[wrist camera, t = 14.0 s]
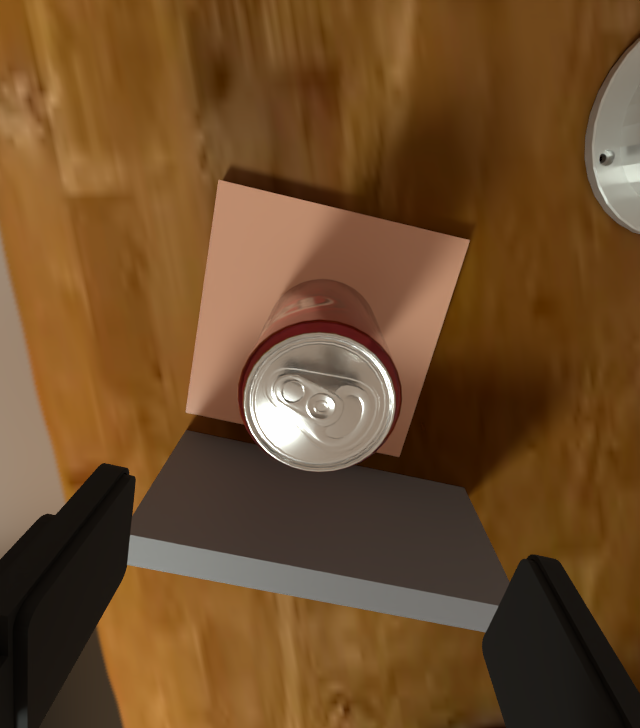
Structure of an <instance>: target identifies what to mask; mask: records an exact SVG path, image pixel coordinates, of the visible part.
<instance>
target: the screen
mask: <svg viewBox="0 0 640 728" xmlns="http://www.w3.org/2000/svg"><path fill="white" fill-rule="evenodd" d="M127 565H131V566H137V567H142V568H147V569H153V570H158V571H163V572H169V573H174V574H179V575H184V576H190V577H195V578H200V579H206V580H211V581H216V582H222V583H227V584H232V585H238V586H243V587H248V588H253V589H259V590H264V591H269V592H275V593H280V594H285V595H291V596H296V597H301V598H306V599H312V600H317V601H322V602H328V603H333V604H338V605H344V606H349V607H354V608H360V609H365V610H370V611H375V612H381V613H386V614H391V615H397V616H402V617H407V618H413V619H418V620H423V621H429V622H434V623H439V624H444V625H450V626H455V627H460V628H466V629H471V630H476V631H482V632H486V631H487V629H488V627H489V625H490V623H491V621H492V619H493V616H494V614H495V612H496V610H497V608H498V606H499V604H500V602H501V600H502V598H503V596H504V594H505V592H506V590H507V587H508V585H509V583H510V582H509V580H508V578H507V576H506V574H505V572H504V570H503V568H502V566H501V563H500V561H499V559H498V557H497V555H496V553H495V551H494V549H493V547H492V545H491V543H490V541H489V538H488V536H487V534H486V532H485V530H484V528H483V526H482V524H481V522H480V520H479V518H478V515H477V513H476V511H475V509H474V507H473V505H472V503H471V501H470V499H469V497H468V495H467V493H466V490H465V488H463V487H459V486H454V485H449V484H444V483H439V482H434V481H430V480H425V479H420V478H415V477H410V476H406V475H401V474H396V473H391V472H386V471H381V470H377V469H372V468H367V467H362V466H357V465H354V466H351V467H349V468H345V469H341V470H337V471H330V472H311V471H303V470H299V469H295V468H292V467H289V466H287V465H285V464H282V463H280V462H278V461H276V460H275V459H273V458H272V457H271V456H269V455H268V454H266V453H265V452H264V451H263V450H262V449H261V448H260V447H259V446H258V445H256V444H251V443H246V442H241V441H237V440H232V439H227V438H222V437H217V436H212V435H208V434H203V433H198V432H193V431H188V430H186V431H185V433H184V434H183V436H182V438H181V439H180V441H179V442H178V444H177V446H176V447H175V449H174V450H173V452H172V454H171V455H170V457H169V458H168V460H167V462H166V463H165V465H164V466H163V468H162V470H161V471H160V473H159V474H158V476H157V478H156V479H155V481H154V482H153V484H152V486H151V487H150V489H149V490H148V492H147V494H146V495H145V497H144V498H143V500H142V502H141V503H140V505H139V506H138V508H137V510H136V511H135V513H134V514H133V516H132V521H131V531H130V541H129V551H128V561H127Z"/></svg>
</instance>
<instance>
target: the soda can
mask: <svg viewBox="0 0 640 728" xmlns="http://www.w3.org/2000/svg"><path fill="white" fill-rule="evenodd" d="M237 400H238V406H239V412H240V416H241V418H242V421H243V423H244V426H245V428H246V430H247V431H248V433H249V435H250V436H251V438H252V439H253V441H254V442H255V443H256V444H257V445H258V446H259V447H260V448H261V449H262V450H263V451H264V452H265V453H266V454H268V455H269V456H271V457H272V458H273V459H275V460H276V461H278V462H280V463H282V464H285V465H287V466H289V467H292V468H295V469H299V470H303V471H311V472H330V471H337V470H341V469H345V468H349V467H351V466H354V465H356V464H358V463H360V462H362V461H364V460H365V459H367V458H368V457H370V456H371V455H373V454H374V453H375V452H376V451H377V450H378V449H379V448H380V447H381V446H382V445H383V444H384V443H385V442H386V441H387V439H388V438H389V436H390V434H391V433H392V431H393V430H394V428H395V425H396V423H397V420H398V418H399V416H400V410H401V404H402V386H401V382H400V378H399V375H398V371H397V368H396V366H395V364H394V361H393V359H392V356H391V354H390V351H389V349H388V347H387V344H386V342H385V339H384V337H383V335H382V332H381V330H380V327H379V325H378V322H377V320H376V318H375V315H374V313H373V311H372V309H371V307H370V305H369V303H368V302H367V301H366V300H365V298H364V297H363V296H362V295H361V294H360V293H359V292H357V291H356V290H355V289H354V288H352V287H350V286H348V285H346V284H344V283H341V282H338V281H335V280H328V279H316V280H309V281H306V282H303V283H300V284H298V285H296V286H294V287H292V288H290V289H289V290H288V291H287V292H286V293H284V294H283V295H282V296H281V297H280V299H279V300H278V301H277V302H276V304H275V306H274V307H273V309H272V311H271V313H270V315H269V317H268V319H267V321H266V323H265V325H264V327H263V329H262V331H261V333H260V335H259V337H258V339H257V341H256V343H255V345H254V347H253V349H252V351H251V353H250V355H249V357H248V359H247V361H246V363H245V365H244V367H243V369H242V372H241V376H240V379H239V383H238V398H237Z"/></svg>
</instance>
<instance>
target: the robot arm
mask: <svg viewBox="0 0 640 728" xmlns="http://www.w3.org/2000/svg"><path fill="white" fill-rule="evenodd" d="M600 155H601V156H602V161H601V163H600V161H599V159H600ZM585 163H586V169H587V175H588V180H589V182H590V185H591V188H592V190H593V193H594V195H595V197H596V199H597V200H598V202H599V203H600V205H601V206H602V208H603V209H604V211H605V212H606V213H607V214H608V215H609V216H610V217H611V218H612V219H614V220H615V221H616V222H617V223H618V224H620V225H621V226H623V227H625V228H627V229H628V230H630V231H632V232H634V233H638V234H640V37H639V38H638V39H637V40H636V41H635V42H634V43H633V44H632V45H631V46H630V47H629V48H628V49H627V50H626V51H625V52H624V53H623V55H622V56H621V57H620V59H619V60H618V61H617V62H616V64H615V65H614V66H613V67H612V69H611V70H610V72H609V74H608V75H607V77H606V79H605V81H604V83H603V84H602V86H601V88H600V90H599V91H598V94H597V97H596V99H595V102H594V105H593V107H592V110H591V113H590V116H589V121H588V126H587V131H586V136H585ZM135 481H136V479H135V477H134V476H131V475H129V470H128V468H125V467H120V466H115V465H111V464H106V463H103V464H101V465H100V466H99V467H98V468H97V469H96V470H95V471H94V472H93V474H92V475H91V476H90V477H89V478H88V479H87V480H86V481H85V483H84V484H83V485H82V486H81V487H80V488H79V489H78V490H77V492H76V493H75V494H74V495H73V496H72V497H71V498H70V499H69V501H68V502H67V503H66V504H65V505H64V506H63V507H62V508H61V510H60V511H59V512H58V513H57V514H56V515H51V514H45V515H43V516H41V517H40V518H39V519H38V520H37V521H36V522H35V523H34V524H33V525H32V526H31V527H30V528H29V530H27V531H26V533H25V534H24V535H23V536H22V537H21V538H20V539H19V540H18V541H17V542H16V543H15V544H14V545H13V546H12V548H11V549H10V550H9V551H8V552H7V553H6V554H5V555H4V556H3V557H2V558H1V559H0V728H39V726H40V725H41V723H42V721H43V719H44V718H45V716H46V714H47V712H48V710H49V708H50V707H51V705H52V703H53V702H54V700H55V698H56V696H57V694H58V693H59V691H60V689H61V687H62V686H63V684H64V682H65V680H66V679H67V677H68V675H69V673H70V672H71V670H72V668H73V666H74V664H75V663H76V661H77V659H78V657H79V656H80V654H81V652H82V650H83V648H84V647H85V645H86V643H87V641H88V640H89V638H90V636H91V634H92V633H93V631H94V629H95V627H96V625H97V624H98V622H99V620H100V618H101V617H102V615H103V613H104V611H105V610H106V608H107V606H108V604H109V602H110V601H111V599H112V597H113V595H114V594H115V592H116V590H117V588H118V587H119V585H120V583H121V581H122V579H123V577H124V574H125V571H126V568H127V561H128V551H129V541H130V531H131V521H132V512H133V502H134V492H135ZM482 650H483V656H484V659H485V662H486V665H487V668H488V671H489V675H490V678H491V681H492V684H493V687H494V690H495V694H496V697H497V700H498V703H499V706H500V709H501V713H502V716H503V719H504V722H505V725H506V728H640V693H639V692H638V690H637V688H636V687H635V685H634V684H633V682H632V680H631V679H630V677H629V675H628V674H627V672H626V670H625V669H624V667H623V665H622V664H621V662H620V660H619V659H618V657H617V656H616V654H615V652H614V651H613V649H612V647H611V646H610V644H609V642H608V641H607V639H606V637H605V636H604V634H603V632H602V631H601V629H600V627H599V626H598V624H597V623H596V621H595V619H594V618H593V616H592V614H591V613H590V611H589V609H588V608H587V606H586V604H585V603H584V601H583V599H582V598H581V596H580V595H579V593H578V591H577V590H576V588H575V586H574V585H573V583H572V581H571V580H570V578H569V576H568V575H567V573H566V571H565V570H564V568H563V566H562V565H561V563H560V562H559V561H558V560H556V559H553V558H548V557H543V556H539V555H530V556H528V558H527V559H523V560H521V561H520V563H519V565H518V567H517V569H516V571H515V573H514V575H513V577H512V579H511V581H510V583H509V585H508V587H507V590H506V592H505V594H504V596H503V598H502V600H501V602H500V604H499V606H498V608H497V610H496V612H495V614H494V616H493V619H492V621H491V623H490V625H489V627H488V629H487V631H486V633H485V635H484V638H483V642H482Z"/></svg>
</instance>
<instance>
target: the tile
mask: <svg viewBox="0 0 640 728" xmlns="http://www.w3.org/2000/svg"><path fill="white" fill-rule="evenodd" d="M469 242H470V240H467V239H463V238H459V237H455V236H451V235H447V234H443V233H438V232H434V231H430V230H426V229H422V228H418V227H413V226H409V225H405V224H401V223H397V222H393V221H388V220H384V219H380V218H376V217H372V216H368V215H364V214H359V213H355V212H351V211H347V210H343V209H339V208H334V207H330V206H326V205H322V204H318V203H314V202H309V201H305V200H301V199H297V198H293V197H289V196H284V195H280V194H276V193H272V192H268V191H264V190H259V189H255V188H251V187H247V186H243V185H239V184H234V183H230V182H226V181H222V180H219V181H218V188H217V195H216V202H215V209H214V216H213V223H212V230H211V237H210V244H209V251H208V258H207V265H206V272H205V279H204V286H203V293H202V301H201V308H200V315H199V322H198V329H197V336H196V343H195V350H194V357H193V364H192V371H191V378H190V385H189V392H188V399H187V406H186V413H191V414H196V415H201V416H205V417H210V418H215V419H220V420H224V421H229V422H234V423H239V424H244V423H243V421H242V418H241V416H240V412H239V406H238V400H237V398H238V383H239V379H240V376H241V372H242V369H243V367H244V365H245V363H246V361H247V359H248V357H249V355H250V353H251V351H252V349H253V347H254V345H255V343H256V341H257V339H258V337H259V335H260V333H261V331H262V329H263V327H264V325H265V323H266V321H267V319H268V317H269V315H270V313H271V311H272V309H273V307H274V306H275V304H276V302H277V301H278V300H279V299H280V297H281V296H282V295H283V294H284V293H286V292H287V291H288V290H289V289H290V288H292V287H294V286H296V285H298V284H300V283H303V282H306V281H309V280H316V279H328V280H335V281H338V282H341V283H344V284H346V285H348V286H350V287H352V288H354V289H355V290H356V291H357V292H359V293H360V294H361V295H362V296H363V297H364V298H365V300H366V301H367V302H368V303H369V305H370V307H371V309H372V311H373V313H374V315H375V318H376V320H377V322H378V325H379V327H380V330H381V332H382V335H383V337H384V339H385V342H386V344H387V347H388V349H389V351H390V354H391V356H392V359H393V361H394V364H395V366H396V368H397V371H398V375H399V378H400V382H401V386H402V404H401V410H400V416H399V418H398V420H397V423H396V425H395V428H394V430H393V431H392V433H391V434H390V436H389V438H388V439H387V441H386V442H385V443H384V444H383V445H382V446H381V447H380V448H379V449H378V450H377V451H376V452H377V453H382V454H387V455H392V456H396V457H400V454H401V451H402V448H403V444H404V441H405V438H406V435H407V432H408V429H409V426H410V423H411V420H412V417H413V414H414V411H415V408H416V405H417V401H418V398H419V395H420V392H421V389H422V386H423V383H424V380H425V377H426V374H427V371H428V368H429V365H430V361H431V358H432V355H433V352H434V349H435V346H436V343H437V340H438V337H439V334H440V331H441V328H442V325H443V322H444V318H445V315H446V312H447V309H448V306H449V303H450V300H451V297H452V294H453V291H454V288H455V285H456V282H457V279H458V275H459V272H460V269H461V266H462V263H463V260H464V257H465V254H466V251H467V248H468V245H469Z"/></svg>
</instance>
